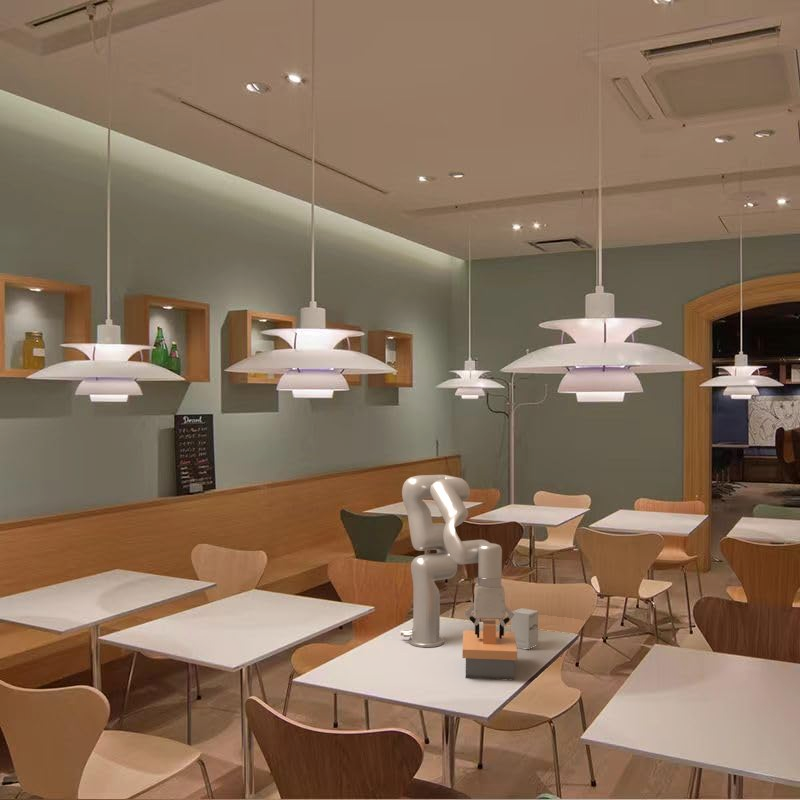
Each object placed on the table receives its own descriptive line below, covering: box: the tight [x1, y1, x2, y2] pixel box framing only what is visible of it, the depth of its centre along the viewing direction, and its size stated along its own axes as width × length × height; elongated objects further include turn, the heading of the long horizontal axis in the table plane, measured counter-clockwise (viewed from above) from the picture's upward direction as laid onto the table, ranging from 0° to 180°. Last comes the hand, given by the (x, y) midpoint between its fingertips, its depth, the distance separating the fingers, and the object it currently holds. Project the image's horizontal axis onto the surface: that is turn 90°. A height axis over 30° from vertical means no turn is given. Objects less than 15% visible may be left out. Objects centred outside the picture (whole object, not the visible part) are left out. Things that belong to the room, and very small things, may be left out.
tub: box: [465, 658, 515, 681], centre depth 269 cm, size 15×20×8 cm
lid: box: [462, 618, 518, 661], centre depth 269 cm, size 17×22×9 cm
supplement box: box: [510, 607, 539, 650], centre depth 294 cm, size 7×7×13 cm
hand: (489, 636), depth 269 cm, fingers open, 6 cm apart
